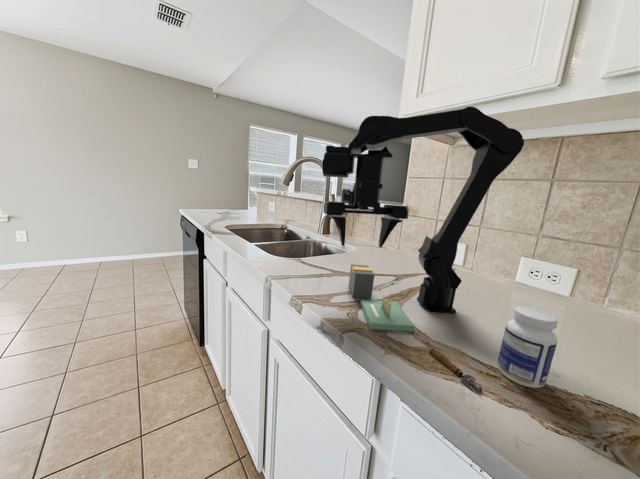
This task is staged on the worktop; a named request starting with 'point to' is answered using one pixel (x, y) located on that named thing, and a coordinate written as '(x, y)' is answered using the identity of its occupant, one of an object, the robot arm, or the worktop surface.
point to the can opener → (456, 371)
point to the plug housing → (361, 281)
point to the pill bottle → (528, 347)
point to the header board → (386, 315)
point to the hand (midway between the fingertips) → (361, 246)
